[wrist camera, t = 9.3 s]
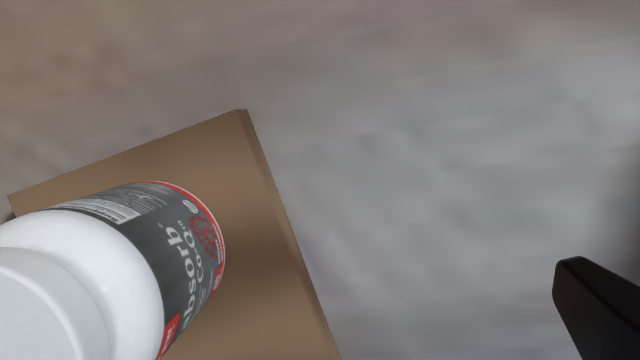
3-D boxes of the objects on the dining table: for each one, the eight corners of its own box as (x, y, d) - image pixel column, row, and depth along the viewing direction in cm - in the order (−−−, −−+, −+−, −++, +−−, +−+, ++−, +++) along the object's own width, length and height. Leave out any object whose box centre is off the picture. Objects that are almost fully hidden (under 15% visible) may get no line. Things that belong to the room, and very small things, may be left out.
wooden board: (344, 369, 23) (342, 393, 21) (140, 431, 24) (120, 460, 22) (246, 109, 22) (235, 109, 20) (37, 188, 23) (6, 195, 21)
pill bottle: (229, 321, 21) (111, 507, 11) (92, 314, 21) (-136, 487, 12) (228, 179, 20) (101, 245, 10) (86, 175, 21) (-164, 235, 11)
